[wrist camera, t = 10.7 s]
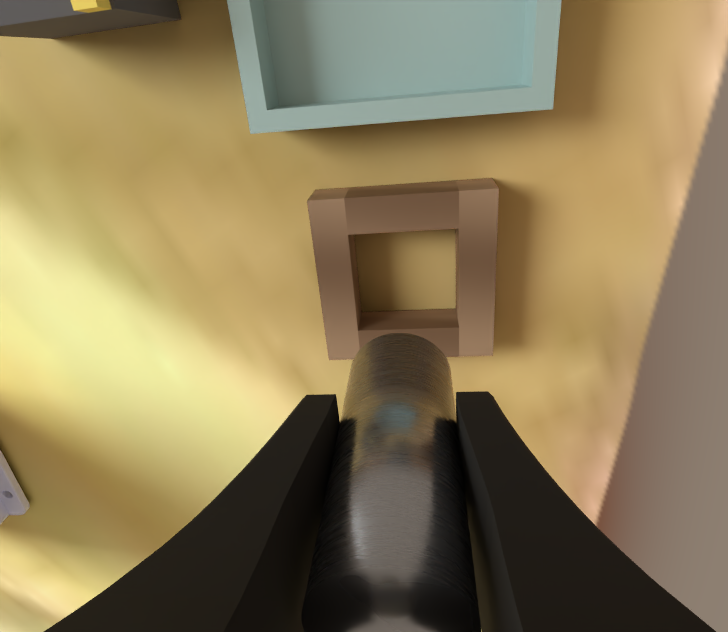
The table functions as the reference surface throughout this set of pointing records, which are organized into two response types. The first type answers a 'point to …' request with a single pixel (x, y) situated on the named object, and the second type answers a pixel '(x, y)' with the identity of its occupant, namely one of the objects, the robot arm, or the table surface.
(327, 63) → the tray
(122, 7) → the chock
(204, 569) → the robot arm
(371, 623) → the pin
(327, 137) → the table surface
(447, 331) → the pin holder
